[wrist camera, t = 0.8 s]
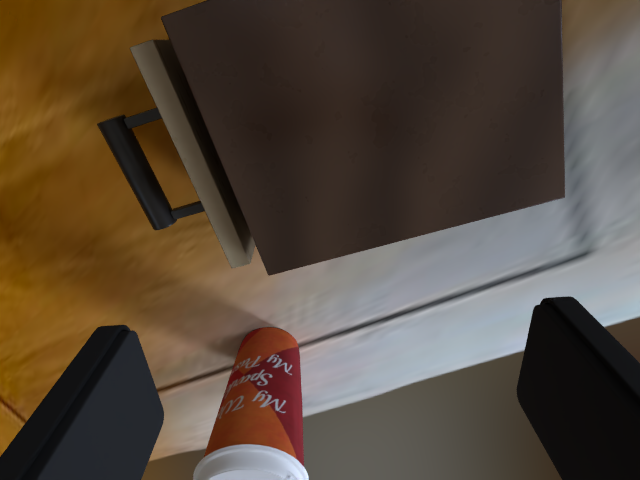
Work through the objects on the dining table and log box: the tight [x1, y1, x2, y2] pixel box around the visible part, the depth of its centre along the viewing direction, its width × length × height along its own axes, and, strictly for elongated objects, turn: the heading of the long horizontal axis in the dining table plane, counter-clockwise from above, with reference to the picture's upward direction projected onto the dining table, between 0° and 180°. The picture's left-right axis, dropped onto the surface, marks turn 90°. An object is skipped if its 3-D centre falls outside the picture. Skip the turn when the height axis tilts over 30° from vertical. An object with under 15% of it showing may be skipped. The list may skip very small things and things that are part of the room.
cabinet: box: [161, 0, 565, 275], centre depth 23 cm, size 17×14×10 cm
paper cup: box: [193, 327, 309, 480], centre depth 32 cm, size 8×8×14 cm
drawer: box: [97, 39, 256, 268], centre depth 24 cm, size 20×12×8 cm, turn 106°
